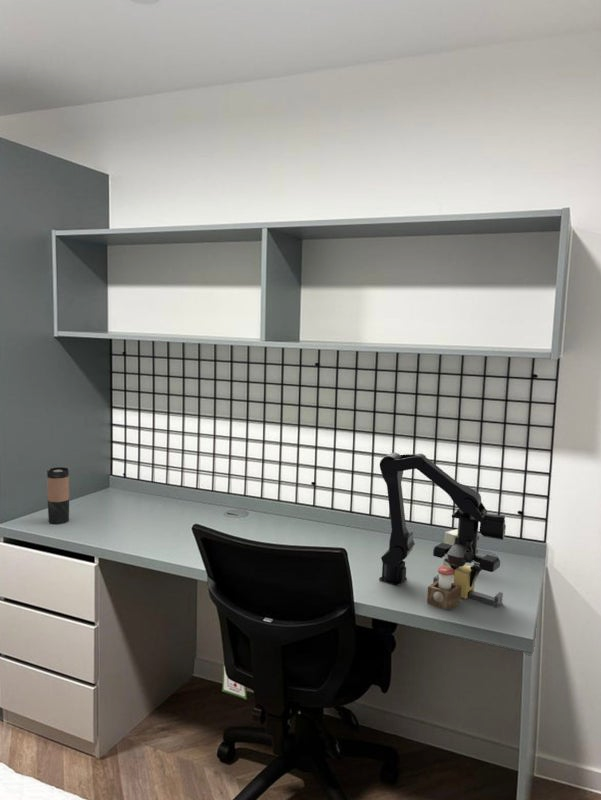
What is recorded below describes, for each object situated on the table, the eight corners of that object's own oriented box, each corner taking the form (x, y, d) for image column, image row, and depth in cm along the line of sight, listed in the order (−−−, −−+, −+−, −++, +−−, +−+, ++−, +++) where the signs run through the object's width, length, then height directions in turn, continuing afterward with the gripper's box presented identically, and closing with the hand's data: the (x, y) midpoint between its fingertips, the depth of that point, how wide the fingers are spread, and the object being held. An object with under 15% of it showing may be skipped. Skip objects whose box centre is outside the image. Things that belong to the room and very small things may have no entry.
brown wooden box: (426, 603, 183) (427, 586, 182) (438, 595, 189) (439, 578, 188) (449, 611, 179) (450, 594, 178) (460, 602, 185) (461, 585, 184)
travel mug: (72, 522, 242) (71, 470, 239) (52, 525, 237) (51, 473, 234) (65, 516, 248) (64, 466, 245) (45, 520, 243) (43, 468, 240)
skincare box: (452, 572, 206) (454, 535, 205) (441, 567, 210) (444, 531, 208) (465, 568, 210) (467, 532, 208) (454, 563, 213) (457, 528, 212)
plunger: (433, 592, 183) (435, 569, 182) (440, 587, 187) (442, 565, 186) (448, 596, 181) (449, 573, 180) (454, 591, 184) (456, 569, 183)
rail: (432, 587, 194) (433, 577, 194) (438, 584, 197) (438, 574, 196) (497, 608, 182) (498, 597, 181) (502, 603, 185) (502, 593, 184)
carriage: (452, 594, 189) (454, 570, 188) (461, 588, 193) (463, 564, 192) (465, 598, 186) (467, 573, 185) (474, 592, 191) (475, 567, 190)
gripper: (425, 533, 187) (422, 584, 189) (487, 549, 175) (483, 603, 177) (442, 523, 195) (439, 572, 198) (502, 538, 184) (498, 590, 186)
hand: (464, 584), depth 189 cm, fingers closed on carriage, 4 cm apart
